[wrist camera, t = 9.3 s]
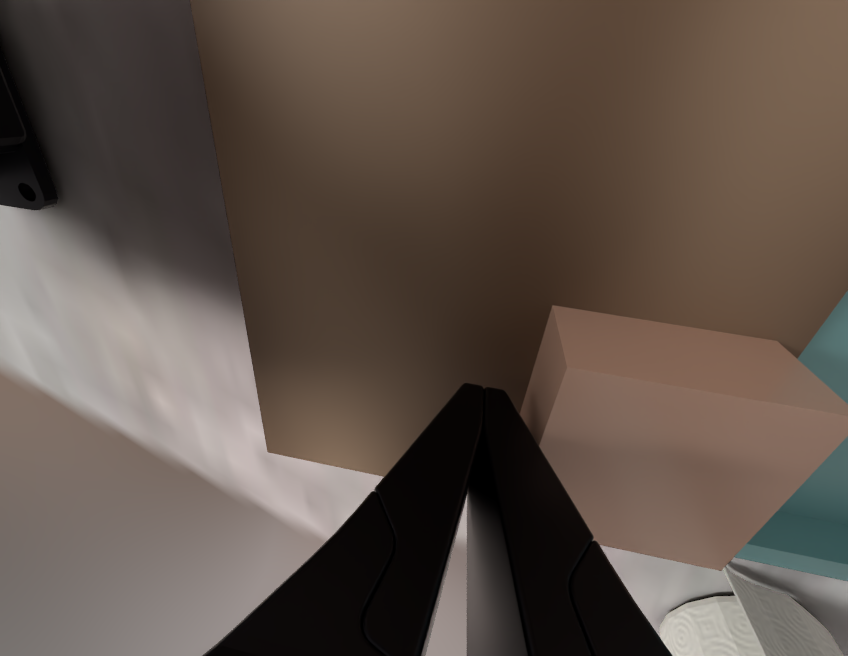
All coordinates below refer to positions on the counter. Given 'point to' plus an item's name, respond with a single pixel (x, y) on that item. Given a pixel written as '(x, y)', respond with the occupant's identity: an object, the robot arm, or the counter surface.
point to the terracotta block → (676, 431)
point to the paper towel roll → (746, 625)
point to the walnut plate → (513, 189)
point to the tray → (815, 479)
